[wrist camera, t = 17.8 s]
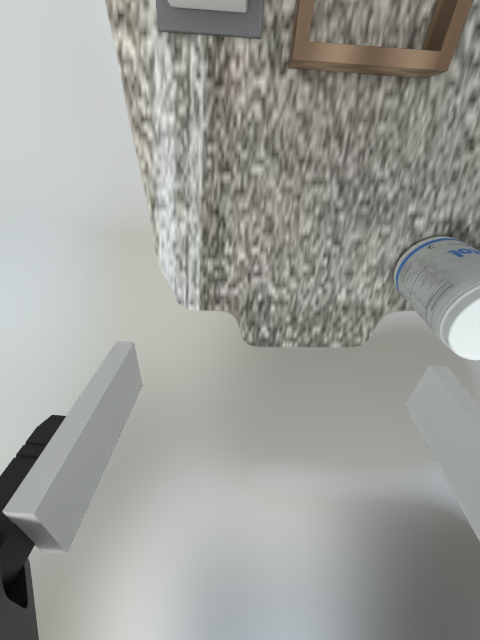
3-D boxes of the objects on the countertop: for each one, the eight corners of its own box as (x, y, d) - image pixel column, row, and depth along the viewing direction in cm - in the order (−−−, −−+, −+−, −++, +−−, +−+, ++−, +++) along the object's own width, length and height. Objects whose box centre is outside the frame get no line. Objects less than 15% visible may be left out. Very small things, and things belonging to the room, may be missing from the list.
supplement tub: (477, 235, 36) (589, 286, 24) (445, 297, 42) (523, 364, 30) (403, 232, 37) (477, 281, 24) (381, 294, 42) (432, 360, 30)
